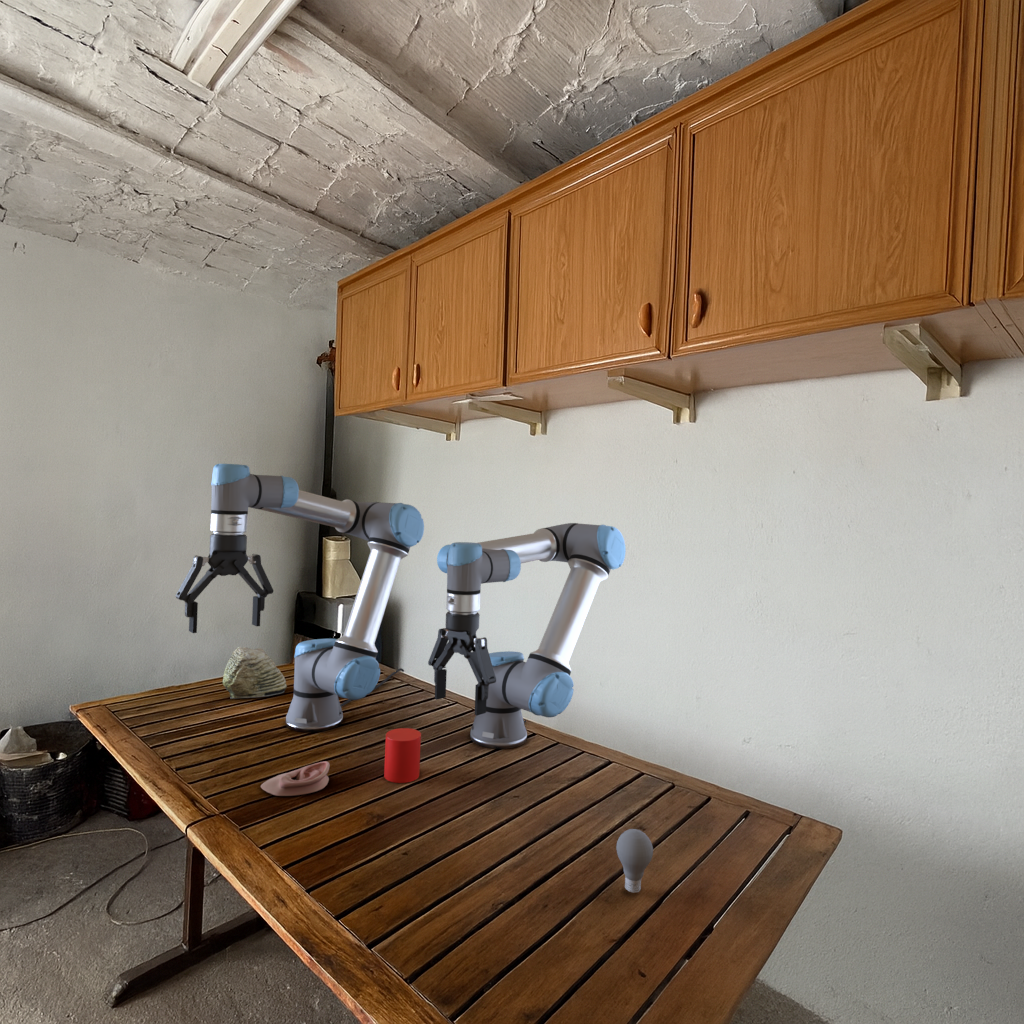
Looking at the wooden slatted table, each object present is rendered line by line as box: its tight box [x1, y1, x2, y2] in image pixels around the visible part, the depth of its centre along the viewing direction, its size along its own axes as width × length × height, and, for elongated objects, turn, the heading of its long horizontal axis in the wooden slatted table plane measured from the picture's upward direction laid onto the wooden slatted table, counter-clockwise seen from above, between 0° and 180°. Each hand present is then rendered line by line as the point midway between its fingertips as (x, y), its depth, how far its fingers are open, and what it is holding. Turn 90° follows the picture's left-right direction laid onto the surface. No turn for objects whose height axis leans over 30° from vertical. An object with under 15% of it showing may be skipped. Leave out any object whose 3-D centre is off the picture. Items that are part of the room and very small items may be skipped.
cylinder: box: [383, 727, 422, 784], centre depth 146 cm, size 8×8×10 cm
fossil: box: [222, 646, 288, 699], centre depth 198 cm, size 9×18×15 cm, turn 132°
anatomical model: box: [260, 760, 331, 797], centre depth 138 cm, size 13×4×12 cm
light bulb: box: [615, 828, 654, 894], centre depth 106 cm, size 6×6×10 cm
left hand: (225, 628), depth 141 cm, fingers open, 13 cm apart
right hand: (459, 705), depth 142 cm, fingers open, 13 cm apart
